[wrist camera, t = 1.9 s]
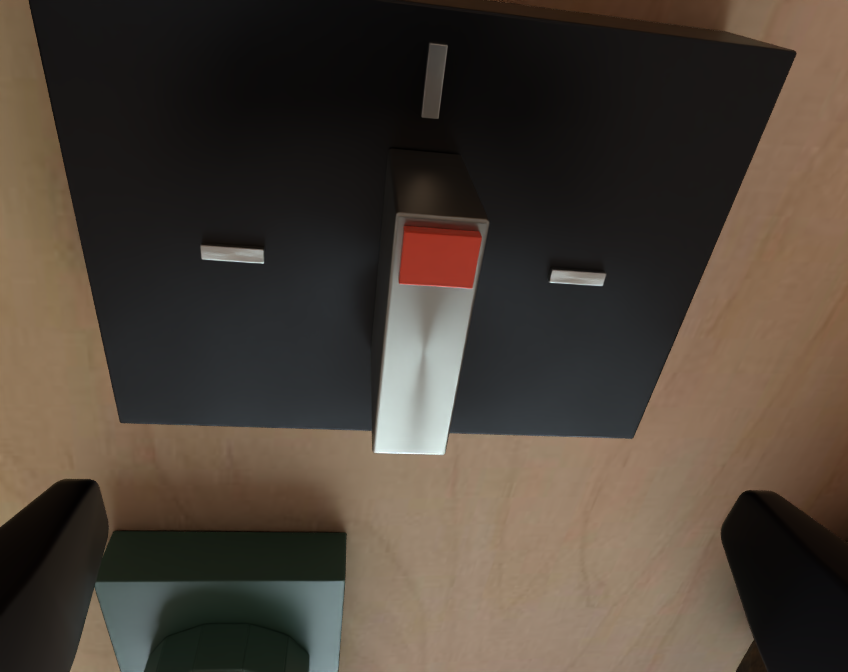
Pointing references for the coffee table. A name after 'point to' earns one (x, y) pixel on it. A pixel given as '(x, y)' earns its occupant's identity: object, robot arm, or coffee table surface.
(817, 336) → the coffee table surface
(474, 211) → the stove knob
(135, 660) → the block
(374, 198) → the panel
